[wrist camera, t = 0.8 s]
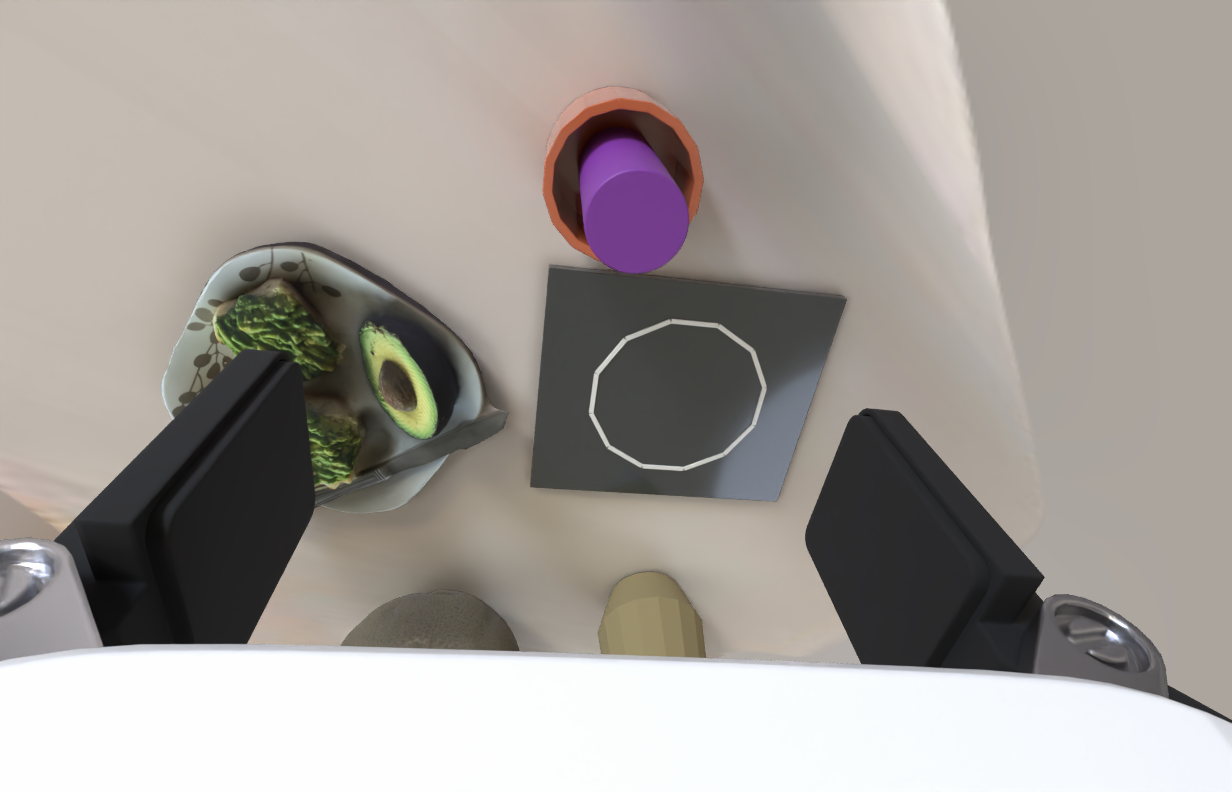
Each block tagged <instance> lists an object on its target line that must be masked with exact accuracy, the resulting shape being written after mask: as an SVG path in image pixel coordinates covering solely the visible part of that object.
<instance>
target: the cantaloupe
mask: <svg viewBox="0 0 1232 792" xmlns="http://www.w3.org/2000/svg"><path fill="white" fill-rule="evenodd" d="M341 646H357V647H390V648H423V649H456V650H489V651H519V648H518V645H517V642H516V639H515V637H514V635H513V633H512V631H511V629H510V628H509V626H508V624H507V623H506V622H505V621H504V620H503V619H502V618H501V616H500V615H499V614H498V613H496V612H495V611H494V610H493V609H492V608H491V607H489V606H488V605H487V604H486V603H484V602H483V601H482V600H480V599H478V598H476V597H474V596H471V595H469V594H466V593H463V592H460V591H454V590H436V591H433V592H431V593H427V594H410V595H406V596H403V597H399V598H396V599H394V600H392V601H390V602H388V603H385V604H383V605H382V606H380V607H378V608H377V609H376V610H374V611H373V612H372V613H371V614H369V615H368V616H367V617H366V618H365V619H364V620H363V621H362V622H361V623H360V624H359V625H358V626H356V627H355V628H354V629H353V630H352V631H351V632H350V633H349V634H348V636H347V637H346V638H345V640H344V641H343V643H342V644H341Z"/></svg>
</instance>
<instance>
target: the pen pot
mask: <svg viewBox="0 0 1232 792" xmlns="http://www.w3.org/2000/svg"><path fill="white" fill-rule="evenodd" d="M610 127H626V128H629V129H632V130H634V131H636V132H638V133H639V134H641V135H642V136H643V137H644V138H645V139H646V140H647V141H648V143H649V144H650V146H651V147H652V149H653V150H654V152H655V153H656V155H657V156H658V158H659V159H660V161H661V162H662V163H663V165H664V166H665V168H666V169H667V171H668V172H669V174H670V175H671V177H672V178H673V180H674V181H675V183H676V184H677V186H678V187H679V189H680V190H681V192H682V194H683V195H684V198H685V200H686V202H687V206H688V211H689V224H690V223H691V221H692V219H693V218H694V216H695V215H696V213H697V211H698V207H699V202H700V197H701V192H702V187H703V182H704V181H703V180H704V178H703V172H702V167H701V161H700V156H699V150H698V147H697V145H696V144H695V142H694V141H693V139H692V138H691V136H690V135H689V133H688V132H687V130H686V129H685V127H684V125H683V124H682V122H681V121H680V120H679V119H678V118H677V117H676V116H675V115H674V114H672V113H671V112H670V111H669V110H668V109H667V108H666V107H665V106H664V105H662V104H660V103H659V102H657V101H656V100H654V99H653V98H652V97H650V96H648V95H647V94H645V93H644V92H642V91H640V90H635V89H631V88H627V87H616V86H610V87H604V88H600V89H596V90H593V91H590V92H588V93H586V94H584V95H582V96H581V97H579V98H578V99H576V100H575V101H573V102H572V103H571V104H570V105H569V106H568V107H567V108H566V109H565V110H564V111H563V112H562V113H561V114H560V116H559V118H558V120H557V121H556V123H555V125H554V127H553V129H552V131H551V134H550V136H549V138H548V140H547V147H546V156H545V166H544V179H543V196H544V199H545V202H546V205H547V209H548V212H549V215H550V218H551V221H552V223H553V225H554V226H555V227H556V228H557V230H558V231H559V232H560V233H561V234H562V236H563V237H564V238H565V239H566V240H567V242H568V243H569V244H570V245H571V246H572V247H573V248H575V249H577V250H579V251H580V252H582V253H584V254H586V255H588V256H590V257H592V258H593V259H595V260H597V261H600V260H599V259H598V258H597V257H596V256H595V254H594V253H593V251H592V250H591V248H590V246H589V244H588V242H587V239H586V236H585V231H584V222H583V212H582V203H581V194H580V184H579V175H578V162H579V157H580V154H581V151H582V149H583V147H584V146H585V144H586V143H587V141H588V140H589V139H590V138H591V137H592V136H593V135H595V134H596V133H597V132H599V131H601V130H603V129H606V128H610Z"/></svg>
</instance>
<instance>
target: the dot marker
mask: <svg viewBox="0 0 1232 792" xmlns="http://www.w3.org/2000/svg"><path fill="white" fill-rule="evenodd" d="M578 175H579V184H580V194H581V203H582V212H583V222H584V231H585V236H586V239H587V242H588V244H589V246H590V248H591V250H592V251H593V253H594V254H595V256H596V257H597V258H598V259H599V260H600V261H601V262H603V263H604V264H605V265H607V266H608V267H610V268H612V269H614V270H616V271H620V272H623V273H629V274H639V273H646V272H650V271H653V270H655V269H658V268H660V267H661V266H663V265H665V264H666V263H667V262H669V261H670V260H671V259H672V258H673V257H674V256H675V255H676V254H677V252H678V251H679V250H680V248H681V247H682V245H683V243H684V241H685V238H686V236H687V232H688V227H689V211H688V206H687V202H686V200H685V198H684V195H683V194H682V192H681V190H680V189H679V187H678V186H677V184H676V183H675V181H674V180H673V178H672V177H671V175H670V174H669V172H668V171H667V169H666V168H665V166H664V165H663V163H662V162H661V161H660V159H659V158H658V156H657V155H656V153H655V152H654V150H653V149H652V147H651V146H650V144H649V143H648V141H647V140H646V139H645V138H644V137H643V136H642V135H641V134H639V133H638V132H636V131H634V130H632V129H629V128H626V127H610V128H606V129H603V130H601V131H599V132H597V133H596V134H595V135H593V136H592V137H591V138H590V139H589V140H588V141H587V143H586V144H585V146H584V147H583V149H582V151H581V154H580V157H579V162H578Z"/></svg>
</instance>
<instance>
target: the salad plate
mask: <svg viewBox="0 0 1232 792" xmlns="http://www.w3.org/2000/svg"><path fill="white" fill-rule="evenodd" d="M244 349H255V350H266V351H276V352H285V353H286V354H287V355H288V357H289V359H290V362H297V363H299V364H300V367H301V370H302V377H303V386H304V395H305V405H306V414H307V423H308V432H309V441H310V450H311V459H312V468H313V477H314V487H315V507H314V508H316V507H318V506H322V507H325V508H329V509H332V510H336V511H340V512H346V513H355V514H361V513H374V512H382V511H389V510H392V509H395V508H398V507H400V506H402V505H404V504H406V503H407V502H408V501H409V500H410V499H411V498H412V497H413V496H415V495H416V494H417V493H418V492H419V491H420V490H421V489H422V488H423V487H424V486H425V484H426V483H427V482H428V480H430V478H431V477H432V476H433V474H434V473H435V472H436V471H437V470H438V469H439V468H440V466H441V465H442V464H443V462H444V461H445V460H446V458H447V457H448V455H449V454H451V453H452V452H454V451H455V450H458V449H467V448H469V447H472V446H474V445H476V444H478V443H480V442H482V441H484V440H486V439H488V438H490V437H491V436H493V435H495V434H496V433H498V432H499V431H500V430H502V429H503V428H504V424H505V420H506V418H507V416H508V412H505V411H502V410H499V409H496V408H494V407H493V406H492V405H491V403H490V401H489V400H488V398H487V395H486V392H485V388H484V383H483V379H482V376H481V372H480V369H479V367H478V364H477V361H476V359H475V358H474V356H473V354H472V352H471V351H470V350H469V349H468V347H467V346H466V345H465V344H464V343H463V341H462V340H461V339H460V338H459V337H458V336H457V335H456V334H455V333H454V332H453V331H452V330H451V329H449V328H448V327H447V326H446V325H445V324H444V323H443V322H441V321H440V320H439V319H438V318H436V317H435V316H434V315H433V314H431V313H430V312H429V311H428V310H427V309H426V308H425V307H423V306H422V305H421V304H419V303H417V302H416V301H414V300H413V299H411V298H410V297H408V296H407V295H405V294H404V293H403V292H401V291H400V290H398V289H397V288H396V287H394V286H393V285H392V284H390V283H389V282H388V281H386V280H384V279H383V278H381V277H379V276H377V275H375V274H373V273H372V272H370V271H368V270H367V269H365V268H363V267H361V266H360V265H358V264H356V263H355V262H353V261H351V260H348V259H346V258H344V257H342V256H340V255H338V254H336V253H334V252H332V251H330V250H327V249H325V248H323V247H320V246H318V245H315V244H311V243H307V242H286V243H276V244H270V245H263V246H258V247H255V248H253V249H250V250H248V251H244V252H241V253H239V254H237V255H235V256H233V257H232V258H230V259H229V260H227V261H226V262H225V263H223V264H222V265H221V266H220V267H219V268H218V269H217V270H216V271H215V272H214V273H213V275H212V276H211V278H210V279H209V280H208V282H207V283H206V285H205V287H204V290H203V291H202V292H201V295H200V297H199V299H198V301H197V303H196V306H195V309H194V311H193V313H192V315H191V317H190V319H189V321H188V323H187V325H186V326H185V328H184V331H183V333H182V336H181V338H180V339H179V341H178V342H177V344H176V345H175V346H174V348H173V353H172V355H171V357H170V361H169V364H168V367H167V370H166V372H165V374H164V377H163V380H162V395H163V399H164V403H165V406H166V408H167V410H168V412H169V414H170V416H171V418H172V419H174V418H175V417H176V416H177V415H178V414H179V413H180V412H181V411H182V410H183V409H184V408H185V407H186V406H187V405H188V404H189V403H190V402H191V401H192V400H193V399H194V398H195V397H196V396H197V395H198V394H199V393H200V392H201V391H202V390H203V389H204V388H205V387H206V386H207V385H208V384H209V383H210V382H211V381H212V380H213V379H214V378H215V377H216V376H217V375H218V374H219V373H220V372H221V371H222V370H223V369H224V368H225V367H226V366H227V365H228V364H229V363H230V362H231V361H232V360H233V359H234V358H235V357H236V356H237V355H238V354H239V353H240V352H241V351H242V350H244Z"/></svg>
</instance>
